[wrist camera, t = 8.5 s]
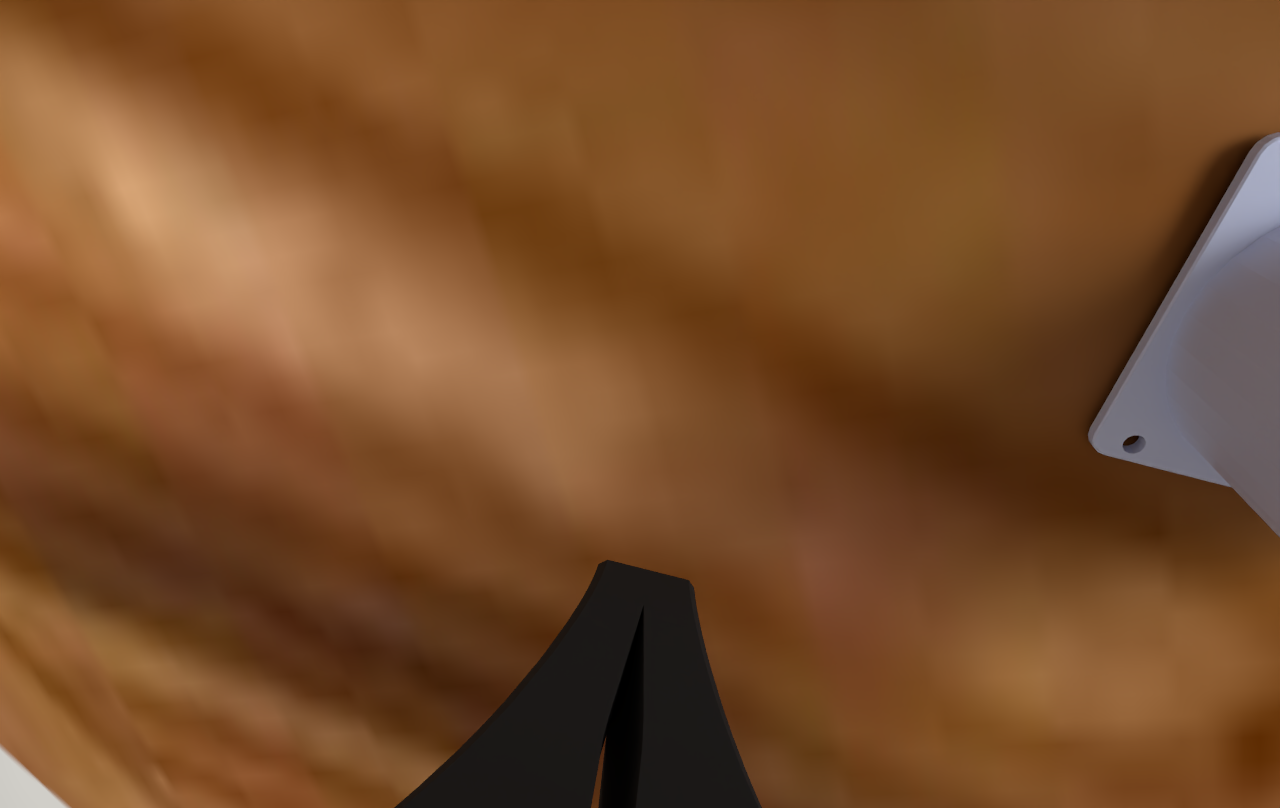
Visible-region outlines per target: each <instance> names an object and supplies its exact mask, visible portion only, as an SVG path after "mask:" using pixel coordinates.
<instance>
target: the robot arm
mask: <svg viewBox="0 0 1280 808" xmlns="http://www.w3.org/2000/svg"><path fill="white" fill-rule="evenodd" d="M1134 435H1136V436H1139V438H1138V440H1137V441H1136V442H1135V443H1134V444H1131V445H1128V446H1126V445H1123V442H1124V441H1125V440H1126V439H1127V438H1128V437H1131V436H1134ZM1088 438H1089V442H1090V443H1091V444H1092V446H1093V447H1094V448H1095V449H1096V451H1097V452H1099V453H1101V454H1103V455H1106V456H1110V457H1114V458H1118V459H1122V460H1126V461H1130V462H1134V463H1138V464H1142V465H1146V466H1150V467H1153V468H1157V469H1161V470H1165V471H1169V472H1173V473H1177V474H1181V475H1185V476H1189V477H1193V478H1197V479H1201V480H1204V481H1208V482H1212V483H1216V484H1220V485H1224V486H1228V487H1232V488H1233V489H1234V490H1235V491H1236V492H1237V493H1238V494H1239V495H1240V496H1241V497H1242V498H1243V499H1244V500H1245V502H1246V503H1247V504H1248V505H1249V506H1250V507H1251V508H1252V509H1253V510H1254V511H1255V512H1256V513H1257V514H1258V515H1259V516H1260V517H1261V518H1262V519H1263V520H1264V521H1265V523H1266V524H1267V525H1268V526H1269V527H1270V528H1271V529H1272V530H1273V531H1274V532H1275V533H1276V534H1277V535H1278V536H1279V537H1280V133H1274V134H1271V135H1267V136H1265V137H1264V138H1262V139H1261V140H1259V141H1258V142H1256V144H1255V145H1254V146H1253V147H1252V149H1251V150H1250V151H1249V153H1248V155H1247V156H1246V158H1245V160H1244V161H1243V163H1242V165H1241V167H1240V168H1239V170H1238V172H1237V174H1236V175H1235V177H1234V179H1233V181H1232V182H1231V184H1230V186H1229V187H1228V189H1227V191H1226V193H1225V194H1224V196H1223V198H1222V200H1221V201H1220V203H1219V205H1218V207H1217V208H1216V210H1215V212H1214V214H1213V215H1212V217H1211V219H1210V220H1209V222H1208V224H1207V226H1206V227H1205V229H1204V231H1203V233H1202V234H1201V236H1200V238H1199V240H1198V241H1197V243H1196V245H1195V246H1194V248H1193V250H1192V252H1191V253H1190V255H1189V257H1188V259H1187V260H1186V262H1185V264H1184V266H1183V267H1182V269H1181V271H1180V273H1179V274H1178V276H1177V278H1176V279H1175V281H1174V283H1173V285H1172V286H1171V288H1170V290H1169V292H1168V293H1167V295H1166V297H1165V299H1164V300H1163V302H1162V304H1161V305H1160V307H1159V309H1158V311H1157V312H1156V314H1155V316H1154V318H1153V319H1152V321H1151V323H1150V325H1149V326H1148V328H1147V330H1146V331H1145V333H1144V335H1143V337H1142V338H1141V340H1140V342H1139V344H1138V345H1137V347H1136V349H1135V351H1134V352H1133V354H1132V356H1131V358H1130V359H1129V361H1128V363H1127V364H1126V366H1125V368H1124V370H1123V371H1122V373H1121V375H1120V377H1119V378H1118V380H1117V382H1116V384H1115V385H1114V387H1113V389H1112V390H1111V392H1110V394H1109V396H1108V397H1107V399H1106V401H1105V403H1104V404H1103V406H1102V408H1101V410H1100V411H1099V413H1098V415H1097V417H1096V418H1095V420H1094V422H1093V423H1092V425H1091V427H1090V429H1089V432H1088ZM606 734H607V735H606ZM605 738H606V743H605V752H604V762H603V771H602V780H601V789H600V798H599V808H762V807H761V805H760V803H759V800H758V798H757V796H756V794H755V791H754V789H753V787H752V784H751V782H750V779H749V777H748V774H747V772H746V770H745V767H744V765H743V762H742V759H741V757H740V754H739V751H738V749H737V746H736V743H735V741H734V738H733V736H732V733H731V730H730V727H729V724H728V721H727V718H726V716H725V713H724V710H723V706H722V703H721V700H720V697H719V694H718V690H717V687H716V684H715V681H714V678H713V674H712V671H711V667H710V664H709V660H708V656H707V652H706V648H705V644H704V640H703V636H702V632H701V627H700V623H699V618H698V613H697V607H696V600H695V593H694V587H693V586H692V584H691V583H690V581H689V580H686V579H682V578H678V577H674V576H670V575H666V574H662V573H658V572H654V571H650V570H646V569H642V568H638V567H634V566H630V565H626V564H622V563H618V562H614V561H610V560H607V561H604V562H602V563H600V564H598V567H597V570H596V573H595V575H594V577H593V579H592V582H591V584H590V586H589V588H588V589H587V591H586V593H585V595H584V597H583V598H582V600H581V602H580V603H579V605H578V606H577V608H576V609H575V611H574V613H573V614H572V616H571V617H570V619H569V620H568V622H567V623H566V625H565V626H564V627H563V629H562V630H561V632H560V633H559V634H558V636H557V637H556V638H555V640H554V641H553V643H552V644H551V645H550V647H549V648H548V649H547V651H546V652H545V654H544V655H543V656H542V657H541V659H540V660H539V661H538V663H537V664H536V665H535V666H534V667H533V669H532V670H531V671H530V672H529V673H528V675H527V676H526V677H525V678H524V679H523V680H522V682H521V683H520V684H519V685H518V686H517V688H516V689H515V690H514V691H513V692H512V693H511V695H510V696H509V697H508V698H507V699H506V701H505V702H504V703H503V704H502V705H501V706H500V707H499V708H498V709H497V710H496V712H495V713H494V714H493V715H492V716H491V717H490V718H489V719H488V720H487V721H486V722H485V723H484V724H483V725H482V726H481V727H480V729H479V730H478V731H477V732H476V733H475V734H474V735H473V736H472V737H471V738H470V739H469V740H468V741H467V742H466V743H465V744H464V745H463V746H462V747H461V748H460V749H459V750H458V751H457V752H456V753H454V754H453V755H452V756H451V757H450V758H449V759H448V760H447V761H446V762H445V763H444V764H443V765H442V766H440V767H439V768H438V769H437V770H436V771H435V772H434V773H433V774H432V775H431V776H430V777H429V778H427V779H426V780H425V781H424V782H423V783H422V784H421V785H420V786H419V787H418V788H417V789H415V790H414V791H413V792H412V793H411V794H410V795H408V796H407V797H406V798H405V799H404V800H403V801H402V802H400V803H399V804H398V805H397V806H396V807H394V808H591V803H592V798H593V792H594V786H595V781H596V775H597V770H598V764H599V759H600V754H601V751H602V747H603V744H604V741H605Z"/></svg>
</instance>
